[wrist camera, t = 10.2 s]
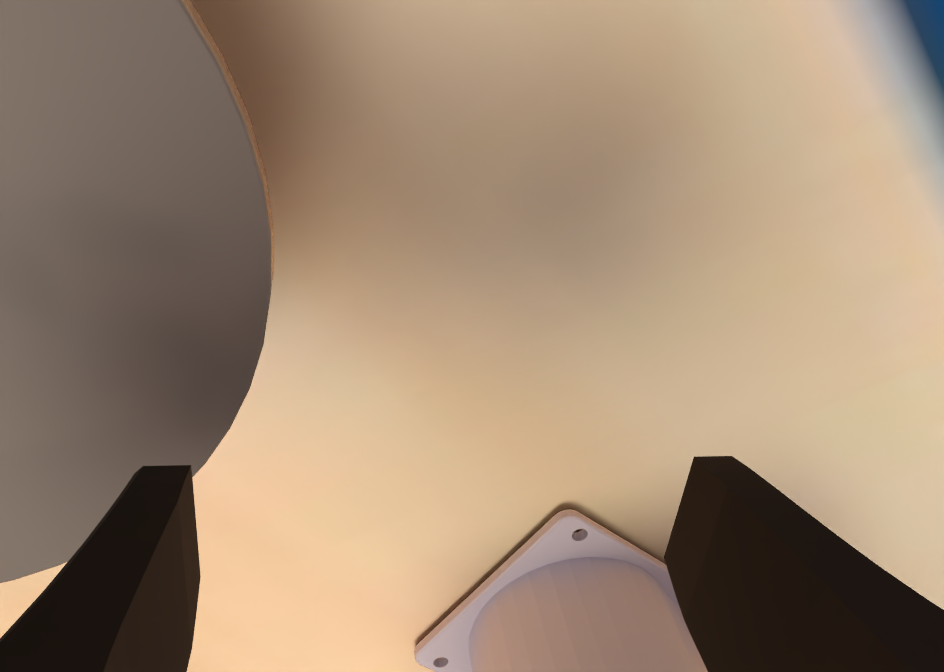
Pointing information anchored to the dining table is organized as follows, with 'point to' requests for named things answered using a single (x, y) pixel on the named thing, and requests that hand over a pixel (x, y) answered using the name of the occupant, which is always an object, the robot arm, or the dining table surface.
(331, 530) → the dining table surface
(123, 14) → the lid
